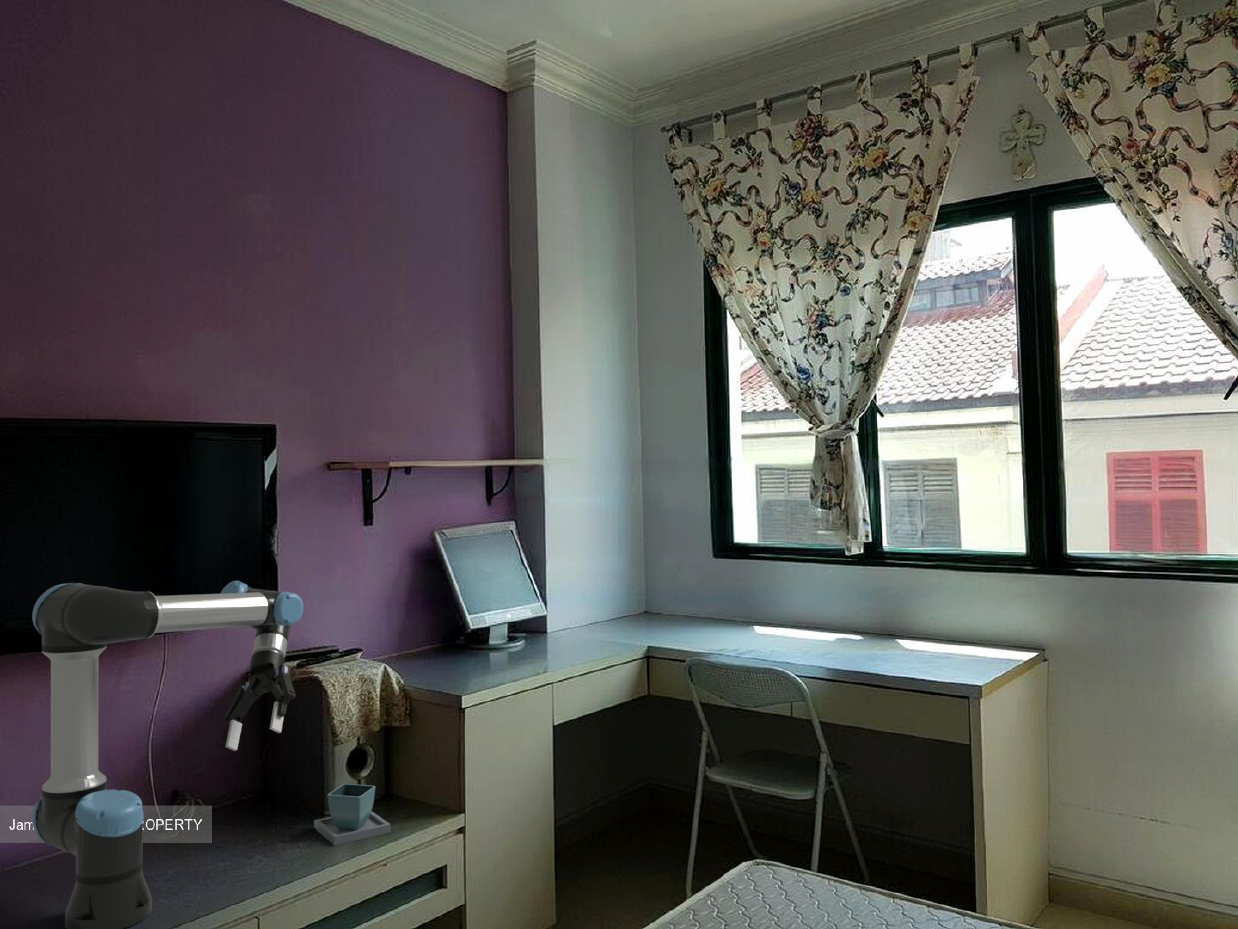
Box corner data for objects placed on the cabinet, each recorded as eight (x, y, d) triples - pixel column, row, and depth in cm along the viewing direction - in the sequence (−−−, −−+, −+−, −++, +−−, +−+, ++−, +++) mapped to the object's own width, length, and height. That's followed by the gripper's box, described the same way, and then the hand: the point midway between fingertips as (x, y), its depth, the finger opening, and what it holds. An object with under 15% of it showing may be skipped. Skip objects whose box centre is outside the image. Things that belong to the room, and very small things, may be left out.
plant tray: (334, 845, 227) (334, 837, 227) (314, 828, 238) (314, 820, 239) (390, 832, 236) (390, 824, 236) (368, 816, 247) (368, 809, 247)
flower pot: (360, 834, 232) (360, 796, 232) (326, 832, 233) (326, 794, 234) (376, 821, 240) (376, 785, 241) (343, 819, 242) (343, 783, 242)
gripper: (319, 646, 229) (306, 729, 215) (242, 679, 238) (226, 761, 223) (295, 633, 224) (281, 716, 210) (218, 667, 233) (200, 750, 218)
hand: (253, 740), depth 217 cm, fingers open, 13 cm apart
